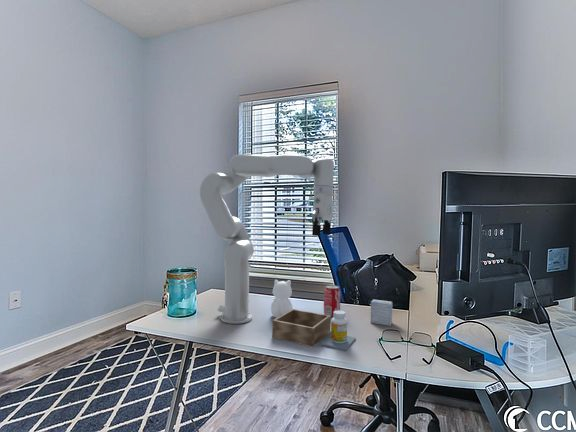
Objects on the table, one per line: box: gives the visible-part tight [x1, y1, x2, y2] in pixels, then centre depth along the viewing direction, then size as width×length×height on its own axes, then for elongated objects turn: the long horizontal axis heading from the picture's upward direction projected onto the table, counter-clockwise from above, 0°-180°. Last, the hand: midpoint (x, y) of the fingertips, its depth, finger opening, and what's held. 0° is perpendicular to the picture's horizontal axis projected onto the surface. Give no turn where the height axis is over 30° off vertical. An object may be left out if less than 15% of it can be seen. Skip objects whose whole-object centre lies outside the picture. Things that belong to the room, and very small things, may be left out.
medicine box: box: [369, 298, 393, 327], centre depth 135 cm, size 8×4×9 cm, turn 65°
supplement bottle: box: [330, 310, 348, 343], centre depth 114 cm, size 5×5×10 cm
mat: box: [321, 335, 357, 352], centre depth 114 cm, size 8×11×1 cm
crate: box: [271, 308, 332, 348], centre depth 121 cm, size 16×16×6 cm
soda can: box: [323, 284, 341, 317], centre depth 144 cm, size 7×7×12 cm
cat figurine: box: [270, 279, 293, 319], centre depth 140 cm, size 9×12×15 cm
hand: (321, 234), depth 132 cm, fingers open, 9 cm apart
